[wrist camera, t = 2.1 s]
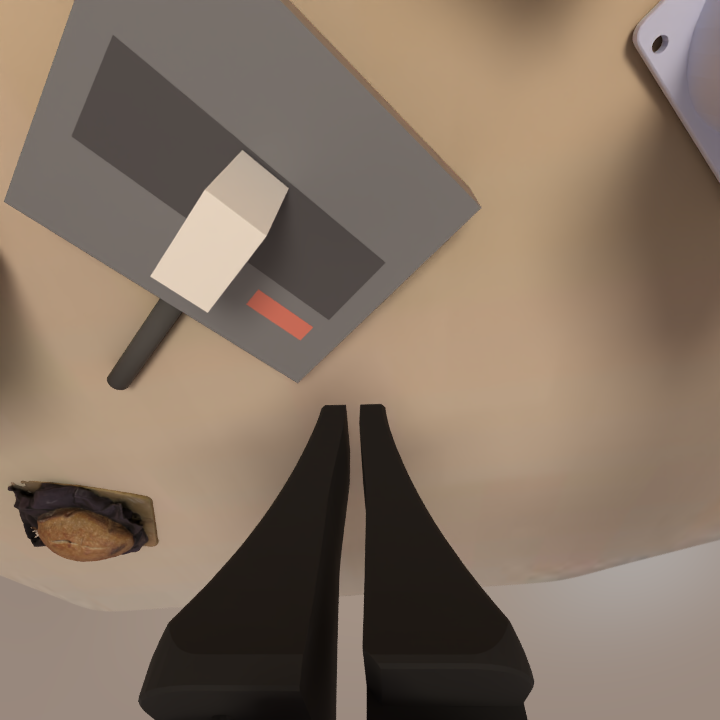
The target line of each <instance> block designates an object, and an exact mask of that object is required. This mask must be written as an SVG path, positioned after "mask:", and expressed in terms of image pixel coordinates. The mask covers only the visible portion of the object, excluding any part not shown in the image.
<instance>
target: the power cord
mask: <svg viewBox="0 0 720 720" xmlns="http://www.w3.org/2000/svg"><path fill="white" fill-rule="evenodd" d="M181 313H182V311H180V310H178V309H177V308H175V307H173V306H172V305H170V304H169V303H167V302H165V301H164V300H162V299H161V298H160V299H159V301H158V302H157V304H156V305H155V307H154V308H153V310H152V311H151V313H150V314H149V316H148V317H147V319H146V320H145V322H144V323H143V325H142V326H141V328H140V329H139V331H138V332H137V334H136V335H135V337H134V338H133V340H132V341H131V343H130V344H129V346H128V347H127V349H126V350H125V352H124V353H123V355H122V356H121V358H120V359H119V361H118V362H117V364H116V365H115V367H114V368H113V370H112V371H111V373H110V374H109V376H108V377H107V382H108V384H109V385H110V386H111V387H112V388H114V389H117V390H124V389H126V388H128V387H129V385H130V384H131V382H132V381H133V380H134V378H135V377H136V375H137V374H138V373H139V371H140V370H141V369H142V367H143V366H144V364H145V363H146V362H147V360H148V359H149V357H150V356H151V355H152V353H153V352H154V351H155V349H156V348H157V346H158V345H159V344H160V342H161V341H162V340H163V338H164V337H165V335H166V334H167V333H168V331H169V330H170V328H171V327H172V326H173V324H174V323H175V322H176V320H177V319H178V317H179V316H180V315H181Z"/></svg>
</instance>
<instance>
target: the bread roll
mask: <svg viewBox="0 0 720 720" xmlns="http://www.w3.org/2000/svg"><path fill="white" fill-rule="evenodd" d="M21 483H22V484H23V483H25V485H26V486H25V487H22V486H18V485H16V484H14V483H12V482H11V484H12V485H11V486H8V490H9V491H13V492H14V493H15V496H16V503H15V504H14V507H15V508H17V509H19V512H20V517H21V519H22V522H23V523H24V528H25V532H26V534H27V537H28V538H29V539H31V542H32V544H33V545H34V547H40V546H47V547H48V548H49V549H50V550H51V551H53V552H54V553H56V554H57V555H59V556H61V557H64V558H66V559H70V560H74V561H82V562H86V561H98V560H103V559H108V558H111V557H116V556H119V555H123V554H127V553H130V552H137V551H139V550H140V549H141V547H142V546H149V547H152V546H156V545H157V544H158V538H157V530H156V522H155V516H154V508H153V502H152V499H151V498H150V497H147V496H143V495H138V494H132V493H126V492H120V491H114V490H108V489H101V488H95V487H88V486H81V485H71V484H61V483H51V482H39V481H29V482H26V481H21ZM28 491H30V492H32V493H29V492H28ZM30 527H32V528H33V529H31V528H30ZM34 530H38V534H39V536H38V537H37V538H34V537H35V536H37V535H36V534H35V533H36V532H32V531H34ZM39 537H40V538H39Z"/></svg>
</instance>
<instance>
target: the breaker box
mask: <svg viewBox="0 0 720 720" xmlns="http://www.w3.org/2000/svg"><path fill="white" fill-rule="evenodd" d="M242 150H243V151H244V152H245V153H247V154H248V155H249V156H250V157H251V158H253V159H254V160H255V161H256V162H257V163H259V164H260V165H261V166H262V167H264V168H265V169H266V170H267V171H268V172H270V173H271V174H272V175H273V176H274V177H276V178H277V179H278V180H279V181H280V182H282V183H283V184H284V185H285V186H286V187H288V188H289V189H288V191H287V193H286V195H285V197H284V200H283V202H282V204H281V206H280V208H279V210H278V213H277V215H276V217H275V219H274V221H273V223H272V225H271V228H270V230H269V232H268V234H267V236H266V237H265V239H264V240H263V241H262V243H261V244H260V245H259V247H258V248H257V249H256V250H255V252H254V253H253V254H252V256H251V257H250V258H249V260H248V261H247V262H246V263H245V265H244V266H243V267H242V269H241V270H240V271H239V273H238V274H237V275H236V277H235V278H234V279H233V280H232V282H231V283H230V284H229V286H228V287H227V288H226V290H225V291H224V292H223V293H222V295H221V296H220V297H219V299H218V300H217V301H216V303H215V304H214V305H213V306H212V308H211V309H210V310H209V312H208V313H207V312H206V311H204V310H202V309H201V308H199V307H198V306H196V305H195V304H193V303H191V302H190V301H188V300H187V299H185V298H183V297H182V296H180V295H179V294H177V293H176V292H174V291H172V290H171V289H169V288H168V287H166V286H165V285H163V284H161V283H160V282H158V281H157V280H155V279H153V278H152V277H150V276H151V274H152V273H153V271H154V270H155V268H156V266H157V265H158V263H159V262H160V260H161V258H162V257H163V255H164V254H165V252H166V251H167V249H168V247H169V246H170V244H171V243H172V241H173V239H174V238H175V236H176V235H177V233H178V231H179V230H180V228H181V227H182V225H183V224H184V222H185V220H186V219H187V217H188V216H189V214H190V212H191V211H192V209H193V208H194V206H195V205H196V203H197V201H198V200H199V198H200V197H201V195H202V193H203V192H204V190H205V189H206V188H207V187H208V186H209V185H210V184H211V183H212V182H213V180H214V179H215V178H216V177H217V176H218V175H219V174H220V173H221V172H222V171H223V170H224V169H225V168H226V167H227V166H228V165H229V164H230V163H231V162H232V161H233V159H234V158H235V157H236V156H237V155H238V154H239V153H240V152H241V151H242ZM4 202H5V203H7V204H8V205H10V206H12V207H13V208H15V209H16V210H18V211H20V212H21V213H23V214H24V215H26V216H28V217H29V218H31V219H33V220H34V221H36V222H37V223H39V224H41V225H42V226H44V227H46V228H47V229H49V230H50V231H52V232H54V233H55V234H57V235H58V236H60V237H62V238H63V239H65V240H67V241H68V242H70V243H71V244H73V245H75V246H76V247H78V248H80V249H81V250H83V251H84V252H86V253H88V254H89V255H91V256H92V257H94V258H96V259H97V260H99V261H101V262H102V263H104V264H105V265H107V266H109V267H110V268H112V269H114V270H115V271H117V272H118V273H120V274H122V275H123V276H125V277H127V278H128V279H130V280H131V281H133V282H135V283H136V284H138V285H139V286H141V287H143V288H144V289H146V290H148V291H149V292H151V293H152V294H154V295H156V296H157V297H159V298H161V299H162V300H164V301H165V302H167V303H169V304H170V305H172V306H173V307H175V308H177V309H178V310H180V311H182V312H183V313H185V314H186V315H188V316H190V317H191V318H193V319H195V320H196V321H198V322H199V323H201V324H203V325H204V326H206V327H207V328H209V329H211V330H212V331H214V332H216V333H217V334H219V335H220V336H222V337H224V338H225V339H227V340H229V341H230V342H232V343H233V344H235V345H237V346H238V347H240V348H241V349H243V350H245V351H246V352H248V353H250V354H251V355H253V356H254V357H256V358H258V359H259V360H261V361H263V362H264V363H266V364H267V365H269V366H271V367H272V368H274V369H275V370H277V371H279V372H280V373H282V374H284V375H285V376H287V377H288V378H290V379H292V380H293V381H295V382H297V383H298V382H299V381H300V380H301V379H302V378H304V377H305V376H306V375H307V374H308V373H309V372H310V371H311V370H312V369H313V368H314V367H315V366H316V365H317V364H318V363H319V362H320V361H321V360H322V359H323V358H324V357H326V356H327V355H328V354H329V353H330V352H331V351H332V350H333V349H334V348H335V347H336V346H337V345H338V344H339V343H340V342H341V341H342V340H343V339H344V338H345V337H346V336H348V335H349V334H350V333H351V332H352V331H353V330H354V329H355V328H356V327H357V326H358V325H359V324H360V323H361V322H362V321H363V320H364V319H365V318H366V317H367V316H369V315H370V314H371V313H372V312H373V311H374V310H375V309H376V308H377V307H378V306H379V305H380V304H381V303H382V302H383V301H384V300H385V299H386V298H387V297H388V296H389V295H391V294H392V293H393V292H394V291H395V290H396V289H397V288H398V287H399V286H400V285H401V284H402V283H403V282H404V281H405V280H406V279H407V278H408V277H409V276H410V275H411V274H413V273H414V272H415V271H416V270H417V269H418V268H419V267H420V266H421V265H422V264H423V263H424V262H425V261H426V260H427V259H428V258H429V257H430V256H431V255H432V254H433V253H435V252H436V251H437V250H438V249H439V248H440V247H441V246H442V245H443V244H444V243H445V242H446V241H447V240H448V239H449V238H450V237H451V236H452V235H453V234H454V233H455V232H457V231H458V230H459V229H460V228H461V227H462V226H463V225H464V224H465V223H466V222H467V221H468V220H469V219H470V218H471V217H472V216H473V215H474V214H475V213H476V212H477V211H479V210H480V209H481V206H480V204H479V203H478V201H477V199H476V198H475V196H474V194H473V193H472V191H471V189H470V188H469V187H468V186H467V185H466V183H465V182H464V181H463V180H462V179H461V178H460V177H459V176H458V175H457V174H456V173H455V172H454V171H453V170H452V169H451V168H450V167H449V166H448V165H447V164H446V163H445V162H444V161H443V160H442V159H441V157H440V156H439V155H438V154H437V153H436V152H435V151H434V150H433V149H432V148H431V147H430V146H429V145H428V144H427V143H426V142H425V141H424V140H423V139H422V138H421V137H420V136H419V135H418V134H417V133H416V131H415V130H414V129H413V128H412V127H411V126H410V125H409V124H408V123H407V122H406V121H405V120H404V119H403V118H402V117H401V116H400V115H399V114H398V113H397V112H396V111H395V110H394V109H393V108H392V107H391V105H390V104H389V103H388V102H387V101H386V100H385V99H384V98H383V97H382V96H381V95H380V94H379V93H378V92H377V91H376V90H375V89H374V88H373V87H372V86H371V85H370V84H369V83H368V82H367V81H366V79H365V78H364V77H363V76H362V75H361V74H360V73H359V72H358V71H357V70H356V69H355V68H354V67H353V66H352V65H351V64H350V63H349V62H348V61H347V60H346V59H345V58H344V57H343V56H342V55H341V53H340V52H339V51H338V50H337V49H336V48H335V47H334V46H333V45H332V44H331V43H330V42H329V41H328V40H327V39H326V38H325V37H324V36H323V35H322V34H321V33H320V32H319V31H318V30H317V29H316V27H315V26H314V25H313V24H312V23H311V22H310V21H309V20H308V19H307V18H306V17H305V16H304V15H303V14H302V13H301V12H300V11H299V10H298V9H297V8H296V7H295V6H294V5H293V4H292V3H291V1H290V0H75V1H74V4H73V6H72V9H71V12H70V15H69V18H68V21H67V23H66V26H65V29H64V32H63V35H62V38H61V41H60V43H59V46H58V49H57V52H56V55H55V58H54V60H53V63H52V66H51V69H50V72H49V75H48V78H47V80H46V83H45V86H44V89H43V92H42V95H41V97H40V100H39V103H38V106H37V109H36V112H35V115H34V117H33V120H32V123H31V126H30V129H29V132H28V134H27V137H26V140H25V143H24V146H23V149H22V152H21V154H20V157H19V160H18V163H17V166H16V169H15V171H14V174H13V177H12V180H11V183H10V186H9V189H8V191H7V194H6V197H5V200H4Z"/></svg>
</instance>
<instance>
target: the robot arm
mask: <svg viewBox="0 0 720 720" xmlns="http://www.w3.org/2000/svg"><path fill="white" fill-rule="evenodd" d="M659 36H662V40H663V41H662V45H661V47H660V48H659V49H658V50H657V51H656V52H653V51H652V45H653V42H654V41H655V39H656V38H657V37H659ZM633 43H634V46H635V48H636V49H637V51H638V52H639V54H640V56H641V57H642V59H643V61H644V62H645V64H646V65H647V67H648V69H649V70H650V72H651V73H652V75H653V77H654V78H655V80H656V81H657V83H658V85H659V86H660V88H661V90H662V91H663V93H664V94H665V96H666V98H667V99H668V101H669V102H670V104H671V106H672V107H673V109H674V110H675V112H676V114H677V115H678V117H679V118H680V120H681V122H682V123H683V125H684V127H685V128H686V130H687V131H688V133H689V135H690V136H691V138H692V139H693V141H694V143H695V144H696V146H697V147H698V149H699V151H700V152H701V154H702V156H703V157H704V159H705V160H706V162H707V164H708V165H709V167H710V168H711V170H712V172H713V173H714V175H715V176H716V178H717V180H718V181H719V183H720V0H661V1H660V2H659V3H658V4H657V5H656V6H655V7H654V8H653V9H652V10H651V11H650V12H649V13H648V14H647V15H646V16H645V17H644V18H643V19H642V20H641V21H640V22H639V23H638V25H637V26H636V28H635V30H634V33H633ZM359 426H360V441H361V456H362V471H363V486H364V497H365V507H366V539H365V583H364V620H363V656H364V666H365V674H366V684H367V720H527V716H526V711H525V707H524V701H525V700H526V698H527V697H528V695H529V693H530V692H531V690H532V688H533V685H534V679H533V675H532V671H531V668H530V665H529V663H528V660H527V657H526V655H525V652H524V650H523V648H522V645H521V643H520V641H519V639H518V637H517V635H516V633H515V631H514V629H513V627H512V625H511V623H510V621H509V620H508V618H507V617H506V616H505V615H504V614H503V613H502V611H501V610H500V609H499V608H498V607H497V606H496V605H495V603H494V602H493V601H492V600H491V598H490V597H489V596H488V595H487V594H486V593H485V591H484V590H483V589H482V588H481V586H480V585H479V584H478V582H477V581H476V580H475V579H474V577H473V576H472V575H471V574H470V572H469V571H468V570H467V568H466V567H465V566H464V564H463V563H462V561H461V560H460V559H459V557H458V556H457V554H456V553H455V552H454V550H453V549H452V547H451V546H450V545H449V543H448V542H447V540H446V539H445V537H444V536H443V534H442V533H441V531H440V530H439V528H438V527H437V525H436V524H435V522H434V520H433V519H432V517H431V515H430V514H429V512H428V510H427V509H426V507H425V505H424V504H423V502H422V500H421V498H420V496H419V495H418V493H417V491H416V489H415V487H414V485H413V483H412V481H411V479H410V477H409V475H408V473H407V471H406V469H405V466H404V464H403V462H402V459H401V457H400V455H399V452H398V450H397V448H396V445H395V442H394V440H393V437H392V434H391V431H390V427H389V424H388V420H387V416H386V410H385V407H384V406H383V405H382V404H367V405H360V422H359ZM349 484H350V445H349V433H348V422H347V411H346V405H325V406H324V407H323V408H322V409H321V412H320V415H319V418H318V421H317V423H316V426H315V428H314V430H313V433H312V435H311V437H310V439H309V441H308V444H307V445H306V447H305V449H304V451H303V453H302V455H301V457H300V459H299V461H298V463H297V465H296V467H295V468H294V470H293V472H292V473H291V475H290V477H289V479H288V480H287V482H286V484H285V485H284V487H283V489H282V490H281V492H280V493H279V495H278V496H277V498H276V500H275V501H274V503H273V504H272V506H271V507H270V508H269V510H268V511H267V513H266V514H265V516H264V517H263V518H262V520H261V521H260V522H259V524H258V525H257V526H256V528H255V529H254V530H253V531H252V533H251V534H250V535H249V537H248V538H247V539H246V541H245V542H244V543H243V544H242V545H241V547H240V548H239V549H238V550H237V552H236V553H235V554H234V555H233V556H232V557H231V558H230V560H229V561H228V562H227V563H226V564H225V565H224V566H223V567H222V568H221V570H220V571H219V572H218V573H217V574H216V575H215V576H214V577H213V579H212V580H211V581H210V582H209V583H208V584H207V585H206V586H205V587H204V588H203V589H202V590H201V591H200V592H199V593H198V594H197V595H196V596H195V597H194V598H193V599H192V600H191V601H190V602H189V603H188V604H187V605H186V606H185V607H184V608H183V609H182V610H181V611H180V612H179V613H178V614H177V615H176V616H175V617H174V618H173V619H172V620H171V621H170V622H169V623H168V625H167V627H166V629H165V631H164V633H163V635H162V637H161V639H160V641H159V644H158V646H157V648H156V650H155V652H154V654H153V657H152V659H151V662H150V665H149V668H148V671H147V674H146V677H145V680H144V683H143V686H142V689H141V692H140V695H139V700H138V702H139V704H140V706H141V707H142V709H143V710H144V711H145V712H146V713H147V714H149V715H150V716H151V717H152V718H154V719H155V720H336V686H337V685H336V683H337V639H338V603H339V602H338V601H339V573H340V560H341V550H342V542H343V534H344V526H345V518H346V509H347V501H348V493H349Z"/></svg>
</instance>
